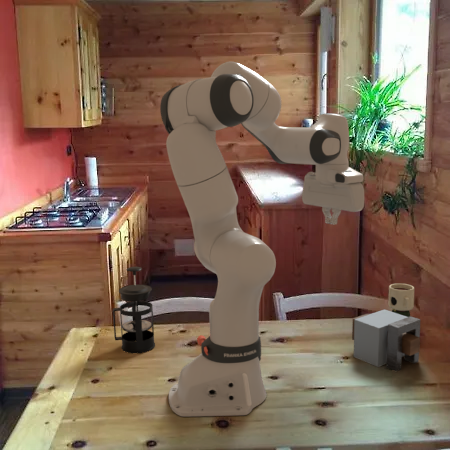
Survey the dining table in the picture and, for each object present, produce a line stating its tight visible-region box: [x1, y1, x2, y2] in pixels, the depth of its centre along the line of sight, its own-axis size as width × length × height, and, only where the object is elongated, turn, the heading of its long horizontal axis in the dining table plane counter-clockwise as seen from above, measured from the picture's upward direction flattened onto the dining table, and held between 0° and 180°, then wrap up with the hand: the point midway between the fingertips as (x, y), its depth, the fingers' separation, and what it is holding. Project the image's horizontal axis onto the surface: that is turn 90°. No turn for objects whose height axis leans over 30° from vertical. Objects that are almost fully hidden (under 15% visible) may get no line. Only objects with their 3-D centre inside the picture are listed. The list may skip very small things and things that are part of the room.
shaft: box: [351, 313, 421, 356], centre depth 151 cm, size 18×6×6 cm, turn 36°
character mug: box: [387, 283, 415, 317], centre depth 170 cm, size 11×7×13 cm, turn 3°
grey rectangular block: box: [353, 309, 407, 368], centre depth 153 cm, size 8×12×10 cm, turn 126°
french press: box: [112, 266, 156, 354], centre depth 161 cm, size 12×9×23 cm
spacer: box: [386, 315, 421, 372], centre depth 147 cm, size 3×9×12 cm, turn 126°
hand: (331, 223), depth 161 cm, fingers closed
